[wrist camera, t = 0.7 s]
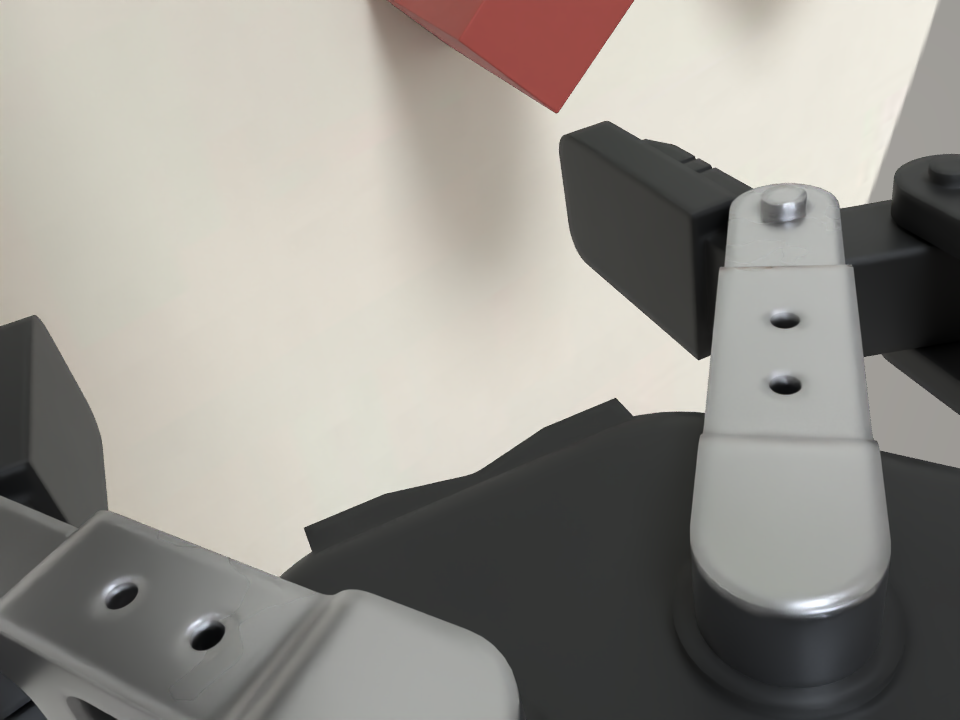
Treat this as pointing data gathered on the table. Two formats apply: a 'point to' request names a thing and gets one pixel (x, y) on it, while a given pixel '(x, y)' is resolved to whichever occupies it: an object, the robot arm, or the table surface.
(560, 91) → the tall red block
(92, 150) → the table surface
